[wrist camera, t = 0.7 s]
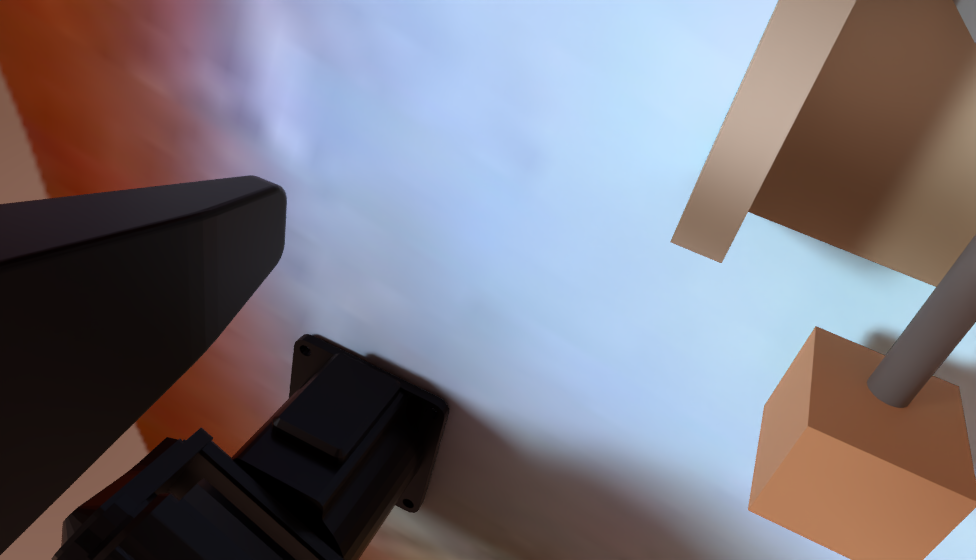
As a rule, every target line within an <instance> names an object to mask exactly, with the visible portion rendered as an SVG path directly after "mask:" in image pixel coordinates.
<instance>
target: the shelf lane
mask: <svg viewBox="0 0 976 560" xmlns="http://www.w3.org/2000/svg"><path fill="white" fill-rule="evenodd" d="M748 212H750V213H753V214H755V215H758V216H760V217H763V218H765V219H768V220H770V221H773V222H775V223H778V224H780V225H783V226H785V227H788V228H790V229H793V230H795V231H798V232H800V233H803V234H805V235H808V236H810V237H813V238H815V239H818V240H820V241H823V242H825V243H828V244H830V245H833V246H835V247H838V248H840V249H843V250H845V251H848V252H850V253H853V254H855V255H858V256H860V257H863V258H865V259H868V260H870V261H873V262H875V263H878V264H880V265H883V266H885V267H888V268H890V269H893V270H895V271H898V272H900V273H903V274H905V275H908V276H910V277H913V278H915V279H918V280H920V281H923V282H925V283H928V284H930V285H933V286H935V287H937V286H938V284H939V283H940V282H941V280H942V279H943V278H944V276H945V275H946V274H947V272H948V271H949V270H950V268H951V267H952V265H953V264H954V263H955V261H956V260H957V259H958V257H959V256H960V255H961V253H962V252H963V251H964V249H965V248H966V247H967V245H968V244H969V243H970V241H971V240H972V239H973V237H974V236H975V235H976V43H975V42H974V40H973V38H972V36H971V35H970V33H969V31H968V29H967V27H966V25H965V23H964V21H963V19H962V17H961V15H960V13H959V11H958V9H957V7H956V6H955V4H954V2H953V0H778V3H777V5H776V7H775V9H774V11H773V14H772V16H771V18H770V20H769V22H768V25H767V27H766V29H765V31H764V33H763V36H762V38H761V40H760V42H759V45H758V47H757V49H756V51H755V53H754V56H753V58H752V60H751V62H750V64H749V67H748V69H747V71H746V73H745V76H744V78H743V80H742V82H741V84H740V87H739V89H738V91H737V93H736V95H735V98H734V100H733V102H732V104H731V106H730V109H729V111H728V113H727V115H726V118H725V120H724V122H723V124H722V126H721V129H720V131H719V133H718V135H717V137H716V140H715V142H714V144H713V146H712V149H711V151H710V153H709V155H708V157H707V160H706V162H705V164H704V166H703V168H702V171H701V173H700V175H699V177H698V180H697V182H696V184H695V187H694V189H693V191H692V193H691V196H690V198H689V200H688V203H687V205H686V207H685V209H684V212H683V214H682V216H681V219H680V221H679V223H678V225H677V228H676V230H675V232H674V235H673V237H672V239H671V243H674V244H676V245H679V246H681V247H683V248H686V249H688V250H691V251H693V252H695V253H698V254H700V255H703V256H705V257H707V258H710V259H712V260H715V261H717V262H719V263H722V261H723V259H724V257H725V255H726V253H727V251H728V250H729V248H730V246H731V244H732V242H733V240H734V238H735V236H736V234H737V232H738V230H739V228H740V226H741V224H742V222H743V220H744V218H745V216H746V214H747V213H748Z"/></svg>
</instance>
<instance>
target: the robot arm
mask: <svg viewBox="0 0 976 560" xmlns="http://www.w3.org/2000/svg"><path fill="white" fill-rule="evenodd" d="M286 207H287V197H286V193H285V191H284V189H283V188H282V187H281V186H279V185H277V184H275V183H272V182H270V181H267V180H265V179H262V178H260V177H257V176H241V177H232V178H223V179H215V180H206V181H198V182H189V183H180V184H172V185H163V186H154V187H146V188H137V189H128V190H120V191H111V192H102V193H94V194H85V195H76V196H68V197H59V198H51V199H42V200H33V201H25V202H16V203H7V204H0V555H1V554H2V553H3V552H4V551H5V550H6V549H7V548H8V547H9V546H10V545H11V544H12V543H13V542H14V541H15V540H16V539H17V538H18V537H19V536H20V535H21V534H22V533H23V532H24V531H25V530H26V529H27V528H28V527H29V526H30V525H31V524H32V523H33V522H34V521H35V520H36V519H37V518H38V517H39V516H40V515H41V514H42V513H43V512H44V511H45V510H47V508H48V507H49V506H50V505H52V504H53V502H55V501H56V500H57V499H58V498H59V497H60V496H61V495H62V494H63V493H64V492H65V491H66V490H67V489H68V488H69V487H70V486H71V485H72V484H73V483H74V482H75V481H76V480H77V479H78V478H79V477H80V476H81V475H82V474H83V473H84V472H85V471H86V470H87V469H88V468H89V467H90V466H91V465H92V464H93V463H94V462H95V461H96V460H97V459H98V458H99V457H100V456H101V455H102V454H103V453H104V452H105V451H106V450H107V449H108V448H109V447H110V446H111V445H112V444H113V443H114V442H115V441H116V440H117V439H118V438H119V437H120V436H121V435H122V434H123V433H124V432H125V431H126V430H128V429H129V428H130V427H131V426H132V425H133V424H134V423H135V422H136V421H137V420H138V419H139V418H140V417H141V416H142V415H143V414H144V413H145V412H146V411H147V410H148V409H149V408H150V407H151V406H152V405H153V404H154V403H155V402H156V401H157V400H158V399H159V398H160V397H161V396H162V395H163V394H164V393H165V392H166V391H167V390H168V389H169V388H170V387H171V386H172V385H173V384H174V383H175V382H176V381H177V380H178V379H179V378H180V377H181V376H182V375H183V374H184V373H185V372H186V371H187V370H188V369H189V368H190V367H191V366H192V365H193V364H194V363H195V362H196V361H197V360H198V359H199V358H200V357H201V356H202V355H203V354H204V353H205V352H206V351H207V349H208V348H209V347H210V346H211V345H212V344H213V343H214V341H215V340H216V339H217V338H218V337H219V336H220V334H221V333H222V332H223V331H224V329H225V328H226V327H227V326H228V324H229V323H230V322H231V321H232V319H233V318H234V317H235V316H236V315H237V313H238V312H239V311H240V310H241V308H242V307H243V306H244V305H245V303H246V302H247V301H248V300H249V298H250V297H251V296H252V295H253V294H254V292H255V291H256V290H257V289H258V287H259V286H260V285H261V284H262V282H263V281H264V280H265V279H266V277H267V276H268V275H269V274H270V272H271V271H272V270H273V269H274V268H275V266H276V265H277V263H278V262H279V260H280V258H281V256H282V253H283V250H284V245H285V227H286ZM432 408H433V409H435V410H436V411H437V412H436V411H434V410H433V409H432ZM448 414H449V407H448V405H447V403H446V402H445V401H444V400H442V399H441V398H439V397H437V396H435V395H433V394H431V393H429V392H427V391H425V390H423V389H421V388H419V387H417V386H415V385H413V384H411V383H409V382H407V381H405V380H403V379H400V378H398V377H396V376H394V375H392V374H390V373H388V372H386V371H384V370H382V369H380V368H378V367H376V366H374V365H372V364H370V363H368V362H366V361H364V360H362V359H359V358H357V357H355V356H353V355H351V354H349V353H347V352H345V351H343V350H341V349H339V348H337V347H335V346H333V345H331V344H329V343H327V342H325V341H323V340H321V339H318V338H316V337H314V336H312V335H309V334H304V335H303V336H301V337H300V338H299V339H298V340H297V341H296V342H295V345H294V353H293V363H292V373H291V383H290V393H289V399H288V400H287V401H286V402H285V403H284V404H283V405H282V406H281V407H280V408H279V409H278V410H277V411H276V412H275V413H274V415H273V416H272V417H271V418H270V419H269V420H268V421H267V422H266V423H265V424H264V425H263V426H262V427H261V428H260V429H259V430H258V431H257V432H256V433H255V434H254V435H253V436H252V437H251V438H250V439H249V440H248V441H247V442H246V443H245V444H244V445H243V446H242V447H241V448H240V449H239V451H238V452H237V453H236V454H235V455H234V456H233V457H232V458H231V457H230V456H229V455H228V454H226V453H225V452H224V451H223V450H222V449H221V448H220V447H219V446H217V445H216V444H215V443H214V442H213V441H212V439H213V437H212V436H211V435H209V434H208V433H207V432H206V431H205V430H204V429H203V428H200V429H199V430H198V431H197V432H195V433H194V434H193V435H192V436H191V437H190V438H188V439H187V440H185V439H184V440H183V441H182V440H181V439H179V440H177V439H173V438H168V437H167V438H166V439H164V440H163V441H162V442H161V443H160V444H159V445H158V446H157V447H156V448H155V449H153V450H152V451H151V452H150V453H149V454H148V455H147V456H146V457H145V458H143V459H142V460H141V461H140V462H139V463H138V464H137V465H135V466H134V467H133V468H132V469H131V470H129V471H128V472H127V473H125V474H124V475H123V476H121V477H120V478H119V479H117V480H116V481H114V482H113V483H112V484H110V485H109V486H107V487H106V488H105V489H103V490H102V491H100V492H99V493H97V494H96V495H95V496H93V497H92V498H90V499H89V500H88V501H86V502H85V503H83V504H82V505H81V506H79V507H78V508H77V509H76V510H74V511H73V512H72V513H71V514H70V515H69V516H68V517H67V518H66V519H65V521H64V522H63V528H62V544H61V548H60V549H59V550H58V551H57V552H56V553H55V555H54V556H53V558H52V560H359V558H360V557H361V555H362V554H363V552H364V551H365V549H366V548H367V546H368V545H369V543H370V542H371V540H372V539H373V537H374V536H375V534H376V533H377V531H378V530H379V528H380V527H381V525H382V524H383V522H384V521H385V519H386V518H387V516H388V515H389V513H390V512H391V510H392V509H393V507H394V506H395V505H396V506H398V507H400V508H402V509H404V510H406V511H408V512H413V513H415V512H417V511H418V510H419V508H420V507H421V505H422V503H423V501H424V498H425V494H426V491H427V487H428V484H429V481H430V477H431V474H432V470H433V467H434V463H435V460H436V456H437V453H438V449H439V446H440V442H441V439H442V435H443V432H444V428H445V425H446V421H447V418H448Z"/></svg>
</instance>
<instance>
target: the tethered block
mask: <svg viewBox="0 0 976 560" xmlns="http://www.w3.org/2000/svg"><path fill="white" fill-rule="evenodd" d="M953 2H954V4H955V6H956V7H957V9H958V11H959V13H960V15H961V17H962V19H963V21H964V23H965V25H966V27H967V29H968V31H969V33H970V35H971V36H972V38H973V40H974V42H975V43H976V0H953ZM975 322H976V235H975V236H974V237H973V239H972V240H971V241H970V243H969V244H968V245H967V247H966V248H965V249H964V251H963V252H962V253H961V255H960V256H959V257H958V259H957V260H956V261H955V263H954V264H953V265H952V267H951V268H950V270H949V271H948V272H947V274H946V275H945V276H944V278H943V279H942V280H941V282H940V283H939V284H938V286H937V287H936V288H935V290H934V291H933V292H932V294H931V295H930V296H929V298H928V299H927V301H926V302H925V303H924V305H923V306H922V307H921V309H920V310H919V311H918V313H917V314H916V315H915V317H914V318H913V319H912V321H911V322H910V323H909V325H908V326H907V327H906V329H905V330H904V331H903V333H902V334H901V336H900V337H899V338H898V340H897V341H896V342H895V344H894V345H893V346H892V348H891V349H890V350H889V352H888V353H887V354H886V356H885V355H883V354H880V353H878V352H876V351H873V350H871V349H869V348H866V347H864V346H861V345H859V344H857V343H854V342H852V341H850V340H847V339H845V338H843V337H840V336H838V335H835V334H833V333H831V332H828V331H826V330H824V329H821V328H819V327H815V328H814V330H813V331H812V333H811V334H810V336H809V337H808V339H807V341H806V342H805V344H804V345H803V347H802V348H801V350H800V351H799V353H798V354H797V356H796V358H795V359H794V361H793V362H792V364H791V365H790V367H789V368H788V370H787V371H786V373H785V375H784V376H783V378H782V379H781V381H780V382H779V384H778V385H777V387H776V388H775V390H774V392H773V393H772V395H771V396H770V398H769V399H768V401H767V402H766V404H765V406H764V410H763V417H762V423H761V429H760V436H759V442H758V449H757V455H756V461H755V468H754V474H753V481H752V487H751V493H750V500H749V506H748V510H749V511H751V512H753V513H755V514H757V515H759V516H761V517H763V518H765V519H768V520H770V521H772V522H774V523H776V524H778V525H780V526H782V527H784V528H786V529H788V530H791V531H793V532H795V533H797V534H799V535H801V536H803V537H805V538H807V539H809V540H811V541H814V542H816V543H818V544H820V545H822V546H824V547H826V548H828V549H830V550H832V551H834V552H837V553H839V554H841V555H843V556H845V557H847V558H849V559H851V560H923V559H924V558H925V557H926V556H927V555H928V554H929V553H930V552H931V551H932V550H933V549H934V548H935V547H936V546H937V545H938V544H939V543H940V542H941V541H942V540H943V539H944V538H945V537H946V536H947V535H948V534H949V533H950V532H951V531H952V530H953V529H954V528H955V527H956V526H957V525H958V524H959V523H960V522H962V521H963V520H964V519H965V518H966V517H967V516H968V515H969V514H970V513H971V512H972V511H973V510H974V509H975V508H976V479H975V474H974V468H973V462H972V457H971V451H970V446H969V440H968V434H967V429H966V423H965V418H964V412H963V406H962V401H961V395H960V390H959V386H956V385H954V384H951V383H949V382H947V381H944V380H942V379H940V378H937V377H935V376H933V374H934V373H935V372H936V370H937V369H938V368H939V367H940V366H941V364H942V363H943V362H944V361H945V359H946V358H947V357H948V356H949V354H950V353H951V352H952V351H953V350H954V348H955V347H956V346H957V345H958V343H959V342H960V341H961V340H962V338H963V337H964V336H965V335H966V333H967V332H968V331H969V330H970V329H971V327H972V326H973V325H974V324H975Z"/></svg>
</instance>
